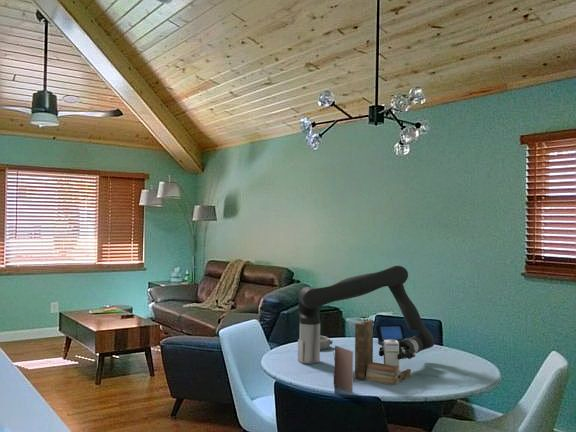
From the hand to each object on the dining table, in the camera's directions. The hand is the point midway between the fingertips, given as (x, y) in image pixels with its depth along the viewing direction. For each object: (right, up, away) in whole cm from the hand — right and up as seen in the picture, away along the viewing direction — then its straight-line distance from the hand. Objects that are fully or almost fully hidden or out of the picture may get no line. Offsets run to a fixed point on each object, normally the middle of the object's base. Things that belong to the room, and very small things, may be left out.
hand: (389, 355), depth 218 cm
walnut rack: (-3, -9, 0) cm, 9 cm away
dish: (-26, -10, +54) cm, 61 cm away
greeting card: (-21, -9, -16) cm, 28 cm away
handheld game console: (+14, -11, +63) cm, 65 cm away
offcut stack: (-3, -9, -5) cm, 11 cm away
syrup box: (+1, -9, +1) cm, 9 cm away
